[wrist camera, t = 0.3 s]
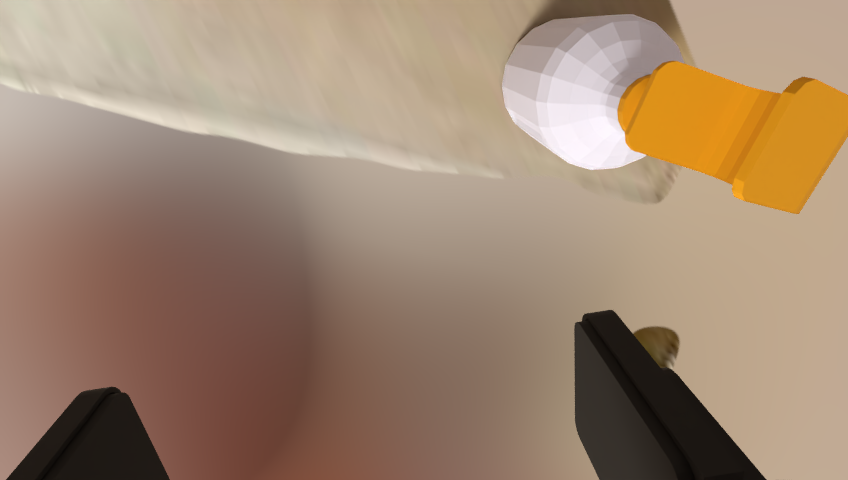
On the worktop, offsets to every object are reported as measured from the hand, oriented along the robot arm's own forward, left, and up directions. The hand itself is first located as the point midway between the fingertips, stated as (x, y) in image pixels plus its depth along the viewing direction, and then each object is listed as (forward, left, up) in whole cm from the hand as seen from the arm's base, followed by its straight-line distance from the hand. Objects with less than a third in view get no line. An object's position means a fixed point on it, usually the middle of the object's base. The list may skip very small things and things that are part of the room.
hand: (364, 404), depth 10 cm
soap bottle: (-2, +14, -31) cm, 34 cm away
